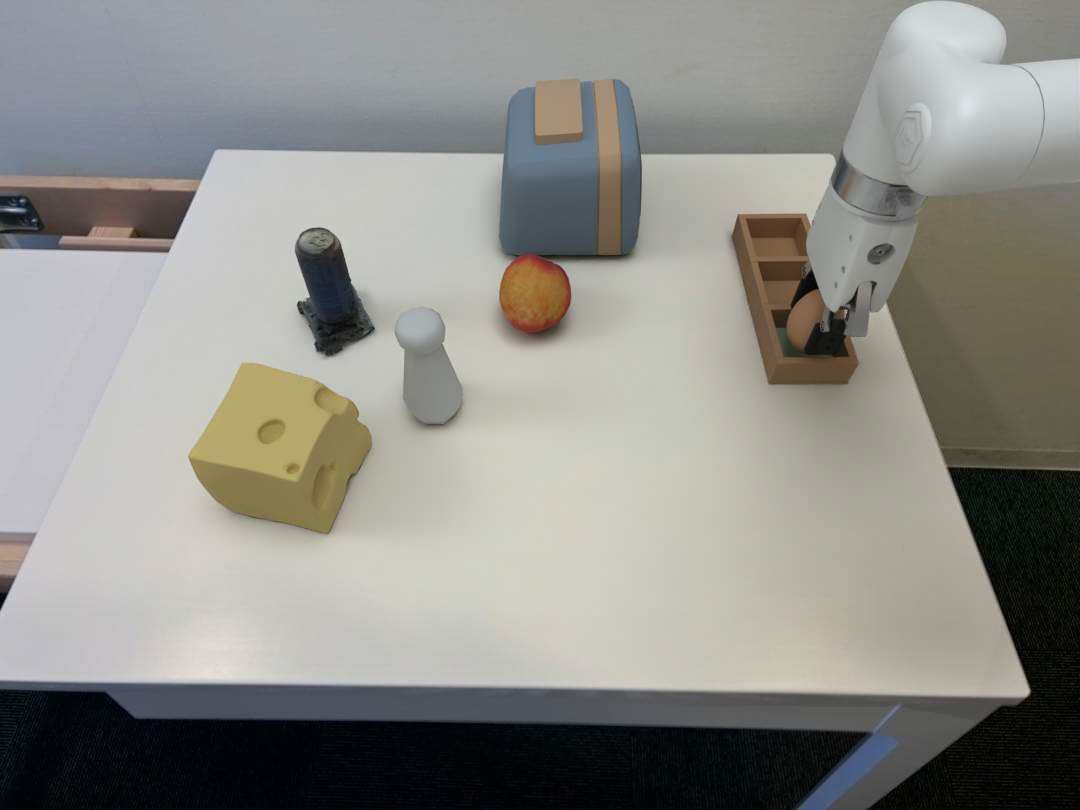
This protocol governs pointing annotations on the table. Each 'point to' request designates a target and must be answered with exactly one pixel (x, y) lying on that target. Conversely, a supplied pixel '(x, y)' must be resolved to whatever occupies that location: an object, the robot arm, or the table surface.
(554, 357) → the table surface
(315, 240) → the dark blue cylinder
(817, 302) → the egg
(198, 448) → the cheese
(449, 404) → the salt shaker
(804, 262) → the compartment tray
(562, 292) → the fruit
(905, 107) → the robot arm
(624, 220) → the blue toy backpack
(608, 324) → the table surface
